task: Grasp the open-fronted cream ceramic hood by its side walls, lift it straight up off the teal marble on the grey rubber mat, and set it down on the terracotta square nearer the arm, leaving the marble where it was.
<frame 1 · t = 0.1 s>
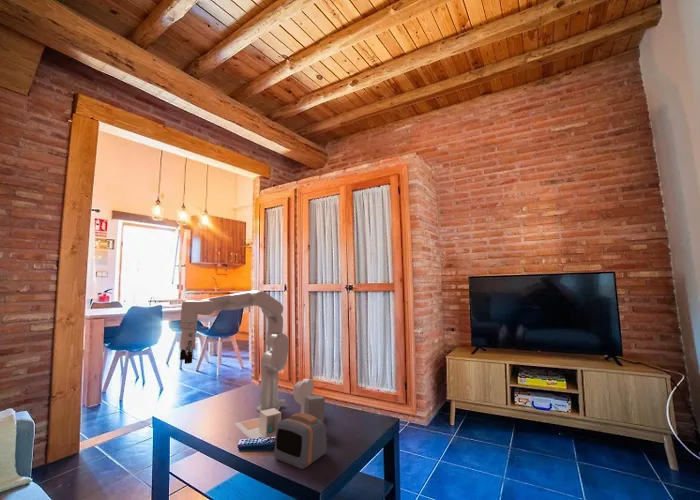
hand: (185, 361, 159), 31 cm above the table, tool pointing down, fingers open, 9 cm apart
mat: (260, 430, 156), on the table
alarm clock: (300, 457, 132), on the table
skincare box: (313, 431, 156), on the table
marble: (269, 428, 153), point 2 cm above the table, touching mat
hood: (269, 432, 153), point 1 cm above the table, touching mat
heart sculpture: (302, 415, 175), on the table
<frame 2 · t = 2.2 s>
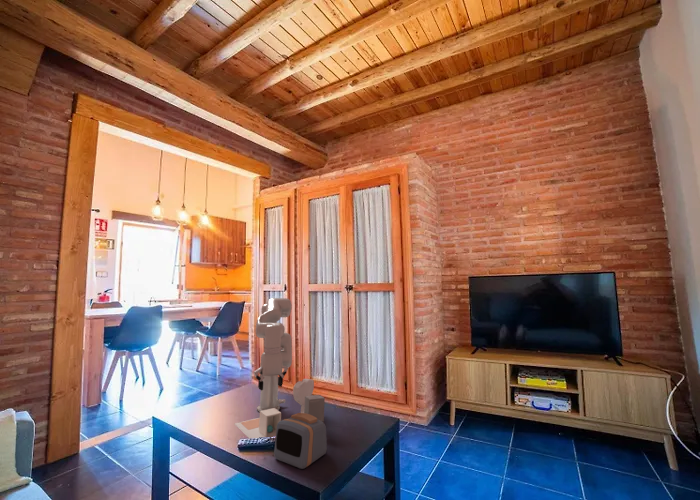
hand: (270, 387, 155), 20 cm above the table, tool pointing down, fingers open, 9 cm apart
nothing on the table moved.
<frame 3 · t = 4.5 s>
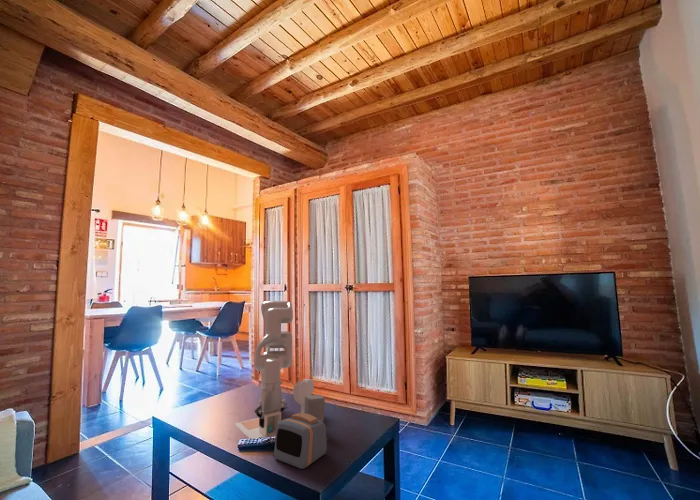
hand: (269, 424, 153), 4 cm above the table, tool pointing down, fingers closed on hood, 7 cm apart
hood: (269, 432, 153), point 1 cm above the table, touching gripper, mat
everything else where it was.
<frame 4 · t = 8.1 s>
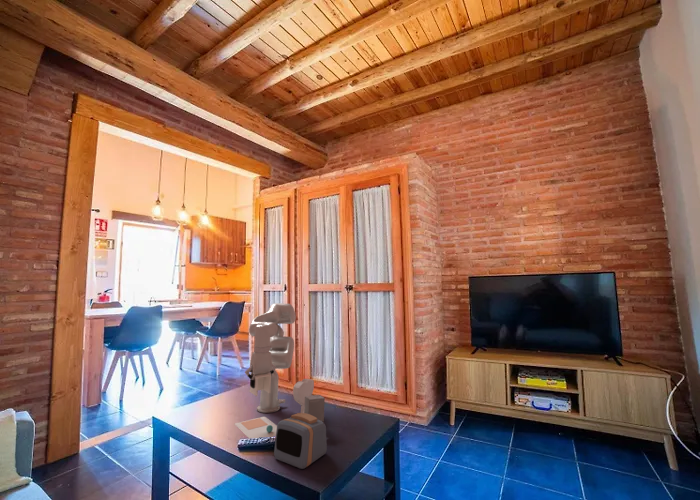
hand: (260, 385, 162), 19 cm above the table, tool pointing down, fingers closed on hood, 7 cm apart
hood: (260, 392, 162), point 16 cm above the table, touching gripper
everything else where it was.
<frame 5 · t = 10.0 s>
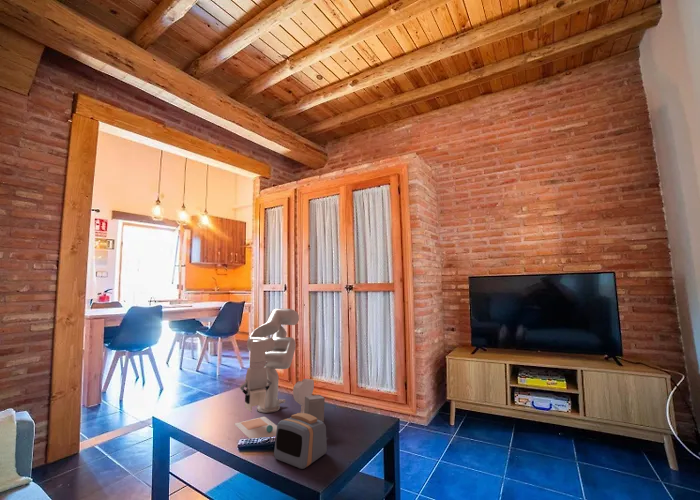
hand: (255, 401, 162), 11 cm above the table, tool pointing down, fingers closed on hood, 7 cm apart
hood: (254, 408, 162), point 8 cm above the table, touching gripper
everything else where it was.
when the fingers open (5 cm above the table, at t = 11.7 s): hood drops 1 cm, resting on mat.
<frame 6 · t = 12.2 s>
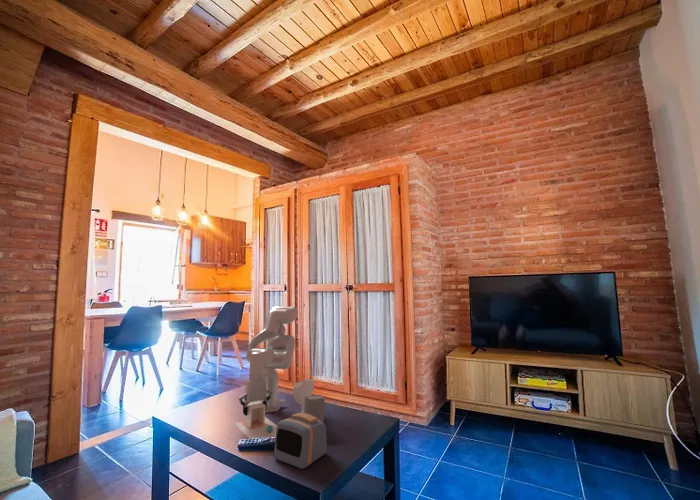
hand: (254, 412, 162), 6 cm above the table, tool pointing down, fingers open, 9 cm apart
hood: (254, 423, 161), point 1 cm above the table, touching mat
everything else where it was.
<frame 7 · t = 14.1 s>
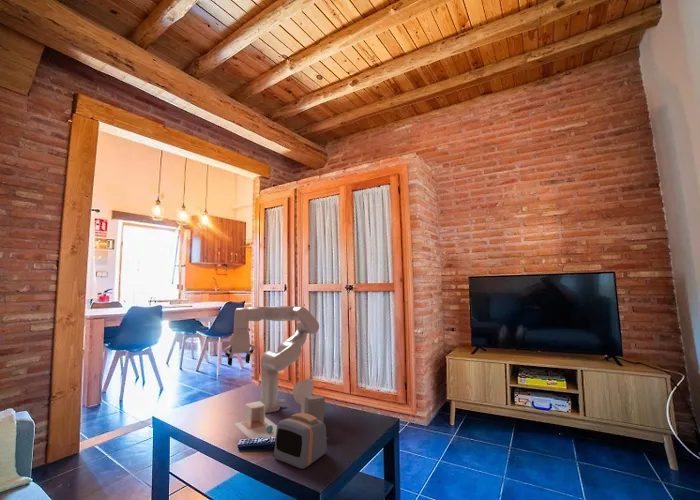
hand: (238, 363, 174), 27 cm above the table, tool pointing down, fingers open, 9 cm apart
nothing on the table moved.
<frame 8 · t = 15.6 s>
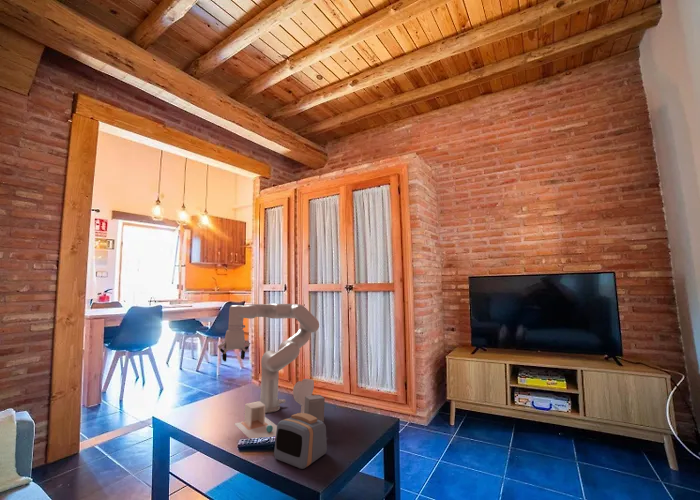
hand: (233, 359, 177), 28 cm above the table, tool pointing down, fingers open, 9 cm apart
nothing on the table moved.
at the end: hood inside the target area (0.0 cm from its centre), point 0.7 cm above the table; hood tilted 0°; marble moved 0.0 cm from its start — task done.
